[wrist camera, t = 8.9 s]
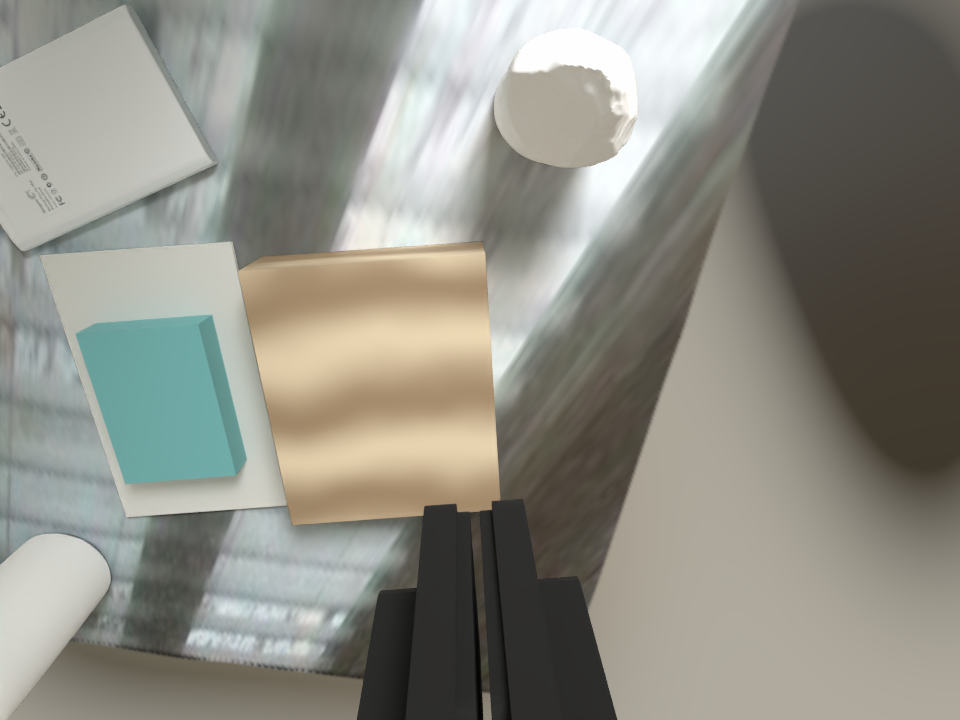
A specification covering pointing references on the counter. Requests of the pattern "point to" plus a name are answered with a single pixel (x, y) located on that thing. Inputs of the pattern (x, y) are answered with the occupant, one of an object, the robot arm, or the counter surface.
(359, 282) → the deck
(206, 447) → the teal sticky note pad
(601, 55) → the white tall lump
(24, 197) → the external hard drive
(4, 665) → the can
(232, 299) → the mat
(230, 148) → the counter surface
